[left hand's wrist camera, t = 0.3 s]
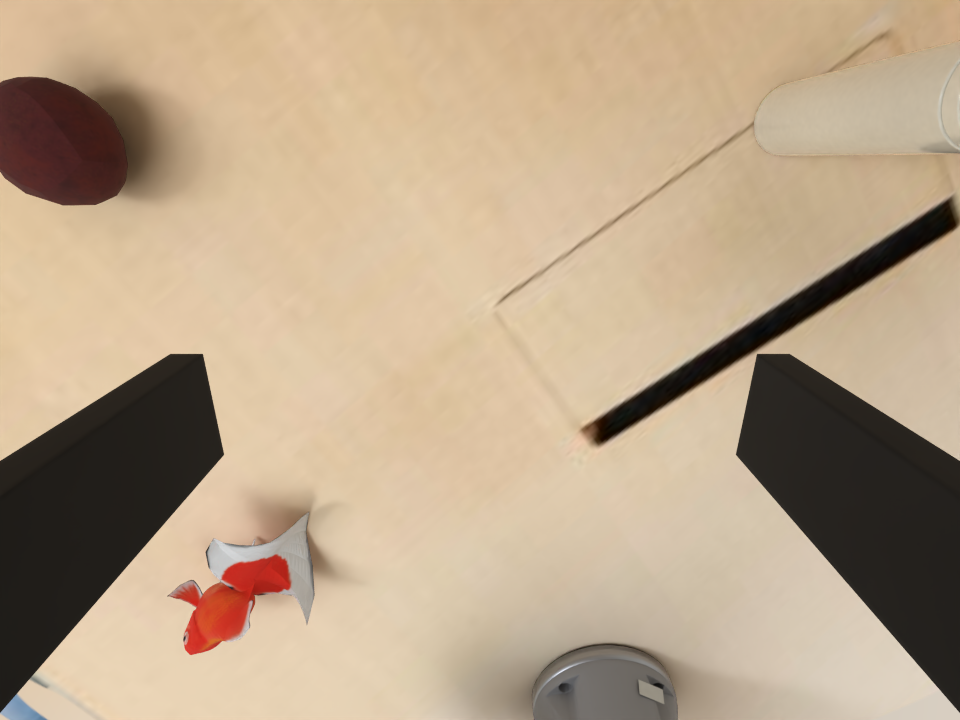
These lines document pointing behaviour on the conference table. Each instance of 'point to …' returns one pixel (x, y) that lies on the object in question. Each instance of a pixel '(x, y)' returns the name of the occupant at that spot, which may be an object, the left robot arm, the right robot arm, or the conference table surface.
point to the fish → (246, 585)
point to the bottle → (868, 108)
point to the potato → (59, 143)
